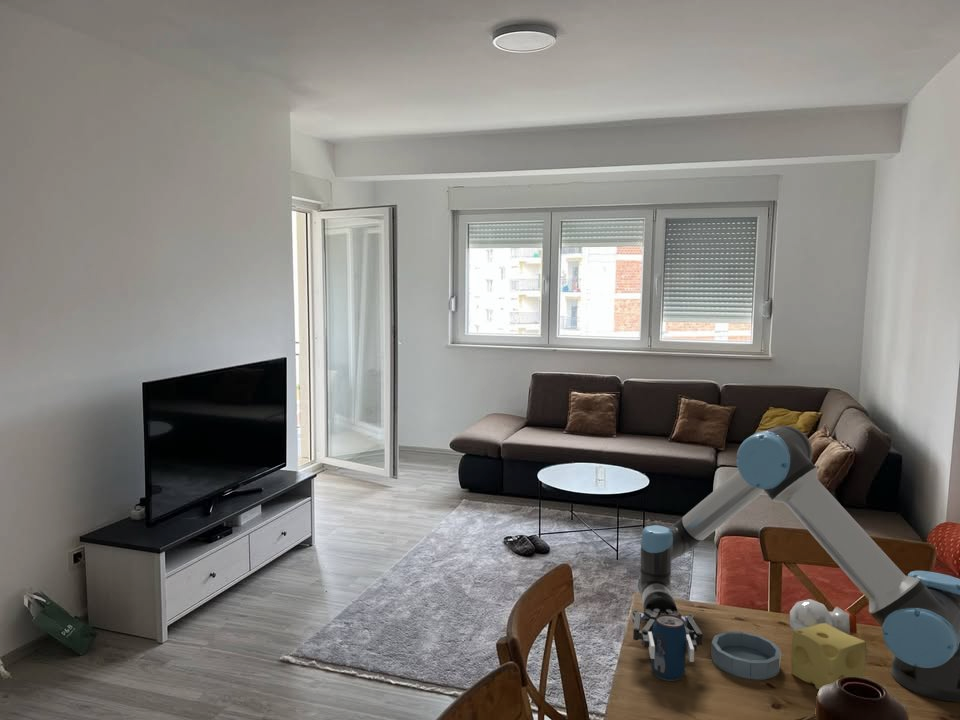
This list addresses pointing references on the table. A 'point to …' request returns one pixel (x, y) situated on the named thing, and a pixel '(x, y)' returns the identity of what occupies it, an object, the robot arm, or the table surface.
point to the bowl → (746, 655)
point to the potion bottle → (821, 617)
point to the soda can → (669, 647)
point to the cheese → (826, 655)
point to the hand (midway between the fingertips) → (672, 653)
